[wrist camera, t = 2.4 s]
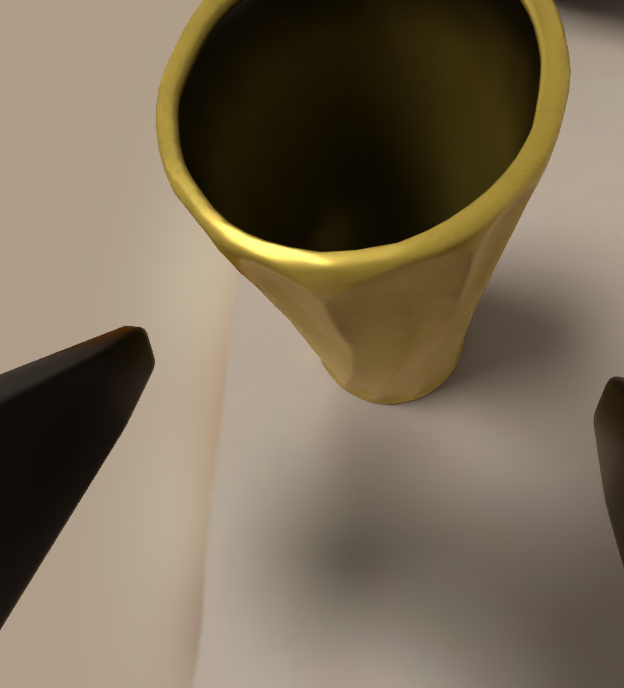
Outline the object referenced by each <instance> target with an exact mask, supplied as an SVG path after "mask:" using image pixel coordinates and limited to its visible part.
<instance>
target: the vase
mask: <svg viewBox="0 0 624 688" xmlns="http://www.w3.org/2000/svg"><path fill="white" fill-rule="evenodd" d="M570 74H571V70H570V60H569V51H568V46H567V41H566V36H565V31H564V27H563V24H562V21H561V19H560V16H559V13H558V10H557V8H556V5H555V3H554V1H553V0H203V2H202V3H201V4H200V6H199V7H198V8H197V10H196V11H195V12H194V13H193V15H192V17H191V18H190V20H189V22H188V23H187V25H186V27H185V29H184V31H183V33H182V35H181V37H180V39H179V41H178V43H177V45H176V47H175V49H174V51H173V53H172V55H171V57H170V59H169V62H168V63H167V65H166V68H165V71H164V74H163V77H162V80H161V83H160V86H159V91H158V98H157V105H156V131H157V139H158V148H159V152H160V156H161V159H162V163H163V167H164V170H165V173H166V175H167V178H168V180H169V182H170V185H171V187H172V189H173V191H174V193H175V194H176V195H177V197H178V198H179V200H180V201H181V202H182V203H183V204H184V206H185V207H186V208H187V209H188V211H189V212H190V213H191V215H192V216H193V217H194V218H195V220H196V221H197V222H198V223H199V225H200V226H201V227H202V228H203V229H204V231H205V232H206V233H207V235H208V236H209V237H210V239H211V240H212V242H213V243H214V244H215V245H216V247H217V248H218V250H219V251H220V252H221V253H222V254H223V255H224V256H225V257H226V258H227V259H228V260H229V261H230V262H231V263H232V264H233V265H234V266H235V267H236V269H237V270H238V271H239V272H240V273H241V274H242V275H243V276H245V277H246V278H247V279H248V280H249V281H250V282H252V283H253V284H254V285H255V286H256V287H257V288H258V289H259V290H260V291H261V292H262V293H263V294H264V295H265V296H266V297H267V298H268V299H269V300H270V301H271V302H272V303H273V304H274V305H275V306H276V307H277V308H278V309H279V310H280V311H281V312H282V313H283V314H284V315H285V316H286V317H287V318H288V319H289V320H290V321H291V323H292V324H293V325H294V326H295V327H296V329H297V330H298V331H299V332H300V334H301V335H302V336H303V337H304V339H305V340H306V341H307V343H308V344H309V345H310V346H311V348H312V349H313V350H314V351H315V352H316V354H317V355H318V356H319V357H320V358H321V360H322V364H323V365H324V366H325V368H326V370H327V371H328V372H329V374H330V375H331V376H332V377H333V379H334V380H335V381H336V382H337V383H338V384H339V385H340V386H341V387H342V388H343V389H345V390H346V391H348V392H349V393H351V394H353V395H355V396H357V397H359V398H361V399H364V400H367V401H369V402H373V403H380V404H395V403H402V402H407V401H411V400H415V399H418V398H421V397H423V396H425V395H426V394H428V393H430V392H431V391H433V390H434V389H436V388H437V387H438V386H439V385H440V384H442V383H443V382H444V381H445V380H446V379H447V378H448V377H449V376H450V374H451V373H452V372H453V370H454V369H455V367H456V365H457V363H458V361H459V359H460V356H461V353H462V349H463V345H464V340H465V333H466V331H467V328H468V326H469V324H470V321H471V318H472V316H473V313H474V311H475V309H476V307H477V305H478V303H479V300H480V298H481V296H482V294H483V292H484V290H485V288H486V286H487V283H488V281H489V279H490V277H491V275H492V273H493V271H494V269H495V266H496V264H497V262H498V260H499V258H500V256H501V254H502V252H503V250H504V248H505V246H506V244H507V242H508V240H509V239H510V237H511V235H512V233H513V231H514V229H515V227H516V225H517V223H518V221H519V219H520V217H521V215H522V213H523V211H524V209H525V207H526V205H527V203H528V201H529V199H530V197H531V195H532V193H533V191H534V189H535V188H536V186H537V184H538V183H539V181H540V179H541V177H542V175H543V173H544V171H545V169H546V166H547V164H548V162H549V159H550V157H551V154H552V151H553V149H554V146H555V143H556V141H557V138H558V135H559V132H560V128H561V124H562V120H563V116H564V112H565V107H566V103H567V98H568V93H569V85H570Z"/></svg>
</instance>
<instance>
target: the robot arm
mask: <svg viewBox="0 0 624 688" xmlns="http://www.w3.org/2000/svg"><path fill="white" fill-rule="evenodd" d="M154 365H155V359H154V355H153V351H152V348H151V345H150V341H149V338H148V334H147V332H146V331H145V329H143V328H141V327H133V326H123V327H121V328H118V329H116V330H113V331H110V332H108V333H105V334H103V335H100V336H98V337H95V338H92V339H90V340H87V341H85V342H82V343H80V344H77V345H74V346H72V347H70V348H67V349H64V350H62V351H59V352H57V353H54V354H51V355H49V356H46V357H44V358H41V359H39V360H36V361H34V362H31V363H28V364H26V365H23V366H21V367H18V368H15V369H13V370H10V371H8V372H5V373H3V374H0V629H1V628H2V626H3V625H4V623H5V621H6V620H7V618H8V617H9V615H10V613H11V612H12V610H13V608H14V607H15V605H16V604H17V602H18V600H19V599H20V597H21V595H22V594H23V592H24V590H25V589H26V587H27V586H28V584H29V582H30V581H31V579H32V578H33V576H34V574H35V573H36V571H37V570H38V568H39V566H40V565H41V563H42V562H43V560H44V558H45V556H46V555H47V553H48V552H49V550H50V549H51V547H52V545H53V544H54V542H55V540H56V539H57V537H58V536H59V534H60V532H61V531H62V529H63V527H64V526H65V524H66V523H67V521H68V519H69V518H70V516H71V515H72V513H73V511H74V510H75V508H76V507H77V505H78V503H79V502H80V500H81V498H82V497H83V495H84V494H85V492H86V490H87V489H88V487H89V485H90V483H91V482H92V480H93V479H94V477H95V476H96V474H97V473H98V471H99V469H100V468H101V466H102V464H103V463H104V461H105V460H106V458H107V456H108V455H109V453H110V452H111V450H112V448H113V447H114V445H115V443H116V442H117V440H118V439H119V437H120V435H121V434H122V432H123V430H124V428H125V427H126V425H127V423H128V421H129V419H130V417H131V415H132V413H133V411H134V409H135V407H136V405H137V402H138V401H139V398H140V396H141V394H142V392H143V390H144V388H145V386H146V384H147V382H148V380H149V378H150V376H151V373H152V371H153V369H154ZM594 430H595V436H596V443H597V450H598V457H599V463H600V470H601V477H602V484H603V490H604V496H605V501H606V506H607V510H608V513H609V517H610V521H611V524H612V528H613V531H614V535H615V538H616V542H617V545H618V549H619V552H620V556H621V559H622V563H623V567H624V377H612V378H610V379H609V381H608V382H607V384H606V386H605V389H604V391H603V393H602V396H601V398H600V401H599V403H598V406H597V408H596V411H595V414H594Z"/></svg>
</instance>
